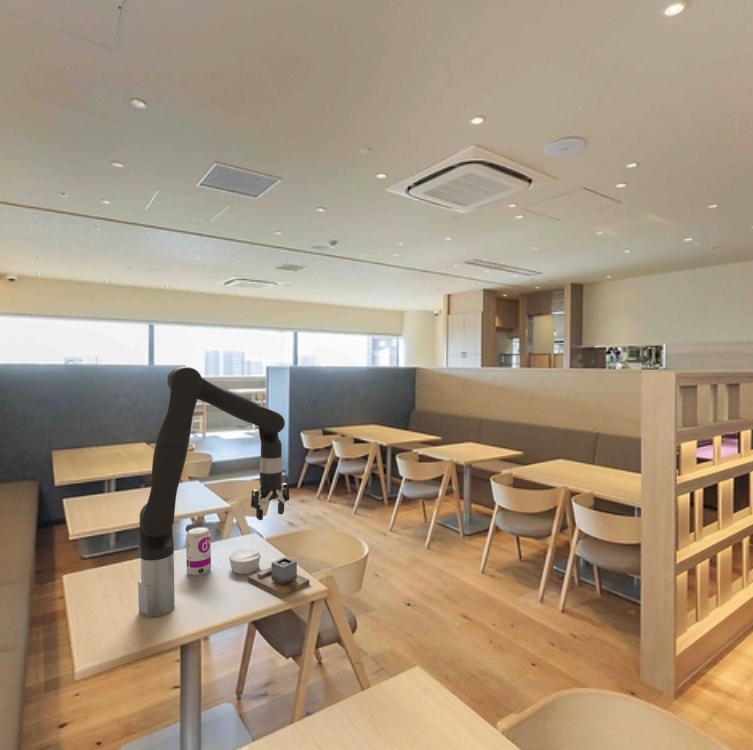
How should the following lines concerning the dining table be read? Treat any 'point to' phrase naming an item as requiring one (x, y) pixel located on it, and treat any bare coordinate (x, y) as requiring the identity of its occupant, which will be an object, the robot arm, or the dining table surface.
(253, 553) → the ramekin
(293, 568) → the grey hollow cube
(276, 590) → the board
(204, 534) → the supplement can
